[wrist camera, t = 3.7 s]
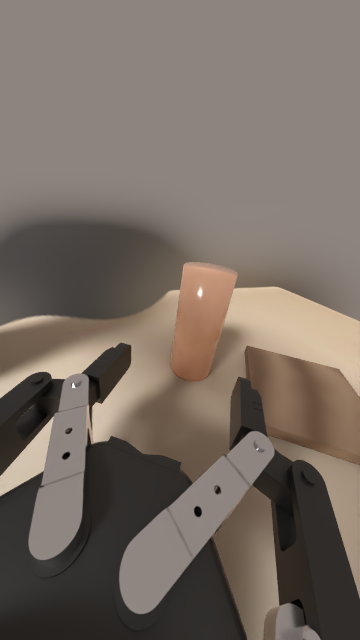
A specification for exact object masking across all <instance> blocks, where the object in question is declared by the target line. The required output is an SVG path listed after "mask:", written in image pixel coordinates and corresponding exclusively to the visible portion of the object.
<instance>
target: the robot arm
mask: <svg viewBox="0 0 360 640" xmlns="http://www.w3.org/2000/svg"><path fill="white" fill-rule="evenodd" d="M130 364H131V345H128V344H124V343H120V344H118V345H117V346H116V347H115V348H113V347H112V348H110V349H108V350H106V351H105V352H104V353H103V354H101V356H99V357H98V358H97V360H95V361H94V362H93V363H92V364H91V365H90V366H89V367H88V368H87V369H86V370H85V371H83V372H82V373H81V374H74V375H72V376H70V377H68V378H67V379H52V377H51V375H50V374H49V373H47V372H38V373H35V374H32V375H30V376H29V377H27V378H26V379H25V380H23V381H22V382H21V383H20V384H18V385H17V386H16V387H14V388H13V389H12V390H11V391H9V392H8V393H7V394H5V395H4V396H3V397H2V398H0V476H1V475H2V474H3V472H4V471H5V470H6V469H7V468H8V467H9V466H10V465H11V463H12V462H13V461H14V460H15V459H16V458H17V457H18V456H19V454H20V453H21V452H22V451H23V450H24V449H25V448H26V446H27V445H28V444H29V443H30V442H31V441H32V440H33V439H34V437H35V436H36V435H37V434H38V433H39V432H40V431H41V430H42V428H43V427H44V426H45V425H46V424H47V423H48V422H49V421H50V419H51V418H52V417H53V416H54V419H53V425H52V430H51V436H50V441H49V446H48V452H47V457H46V463H45V468H44V471H43V472H41V473H40V474H38V475H36V476H35V477H33V478H31V479H29V480H28V481H26V482H24V483H22V484H21V485H19V486H17V487H15V488H14V489H12V490H10V491H9V492H7V493H5V494H3V495H2V496H0V640H247V637H246V633H245V630H244V627H243V624H242V621H241V618H240V615H239V612H238V609H237V606H236V604H235V601H234V598H233V595H232V592H231V589H230V586H229V583H228V580H227V577H226V575H225V572H224V569H223V566H222V563H221V560H220V557H219V554H218V551H217V548H216V546H215V543H214V540H213V537H214V536H215V534H216V533H217V532H218V530H219V529H220V528H221V526H222V525H223V524H224V522H225V521H226V520H227V518H228V517H229V516H230V514H231V513H232V512H233V510H234V509H235V508H236V506H237V505H238V504H239V503H240V501H241V500H242V499H243V497H244V496H245V495H246V493H247V492H248V491H249V490H250V488H251V487H252V486H254V487H256V488H257V489H258V490H259V491H261V492H262V493H263V494H264V495H266V496H267V497H268V498H270V499H271V507H272V519H273V531H274V543H275V556H276V568H277V580H278V593H279V605H280V606H278V607H275V608H273V609H271V610H270V611H269V612H268V614H267V615H266V618H265V623H264V637H263V640H360V598H359V595H358V591H357V588H356V585H355V581H354V578H353V575H352V571H351V568H350V565H349V561H348V558H347V555H346V551H345V548H344V545H343V541H342V538H341V535H340V531H339V528H338V525H337V521H336V518H335V515H334V511H333V508H332V505H331V501H330V498H329V495H328V491H327V488H326V485H325V482H324V480H323V478H322V476H321V475H320V473H319V472H318V471H317V470H316V469H315V468H314V467H313V466H312V465H311V464H309V463H307V462H305V461H303V460H296V461H295V462H292V461H291V460H289V459H288V458H286V457H284V456H283V455H281V454H280V453H279V452H278V451H276V450H275V449H274V447H273V444H272V443H271V441H270V440H269V439H268V437H267V432H266V425H265V418H264V412H263V406H262V399H261V396H260V394H259V393H258V391H257V390H255V389H252V388H251V380H249V379H245V378H242V377H238V379H237V382H236V385H235V387H234V390H233V392H232V396H231V414H230V450H231V451H230V452H229V453H228V454H227V455H223V456H221V457H220V458H219V459H218V460H217V461H216V462H215V463H214V464H213V465H212V466H211V467H210V468H209V469H208V470H207V471H206V472H205V473H204V474H203V475H202V476H201V477H199V478H198V479H197V480H196V481H195V482H194V483H192V481H191V480H190V479H189V477H188V476H187V475H186V474H185V473H184V472H183V471H182V470H181V469H180V465H181V462H178V461H176V460H173V459H170V458H168V457H165V456H161V455H147V454H142V453H141V452H139V451H138V450H137V449H136V448H134V447H133V446H132V445H131V444H129V443H128V442H126V441H124V440H121V439H118V438H116V437H113V436H111V437H110V439H109V441H104V442H97V443H94V444H93V405H94V404H95V403H96V402H98V403H101V404H102V403H103V401H104V400H105V399H106V398H107V396H108V395H109V394H110V392H111V391H112V390H113V388H114V387H115V386H116V384H117V383H118V382H119V380H120V379H121V378H122V376H123V375H124V374H125V373H126V371H127V370H128V368H129V367H130ZM30 407H31V408H30Z"/></svg>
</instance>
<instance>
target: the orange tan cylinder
mask: <svg viewBox="0 0 360 640" xmlns="http://www.w3.org/2000/svg"><path fill="white" fill-rule="evenodd" d="M237 275H238V273H237V272H236V271H234V270H232V269H229V268H227V267H223V266H220V265H215V264H210V263H202V262H188V263H185V264H184V267H183V274H182V281H181V288H180V295H179V303H178V310H177V317H176V324H175V331H174V338H173V345H172V353H171V360H170V367H171V369H172V371H173V372H174V373H175V374H176V375H177V376H179V377H180V378H182V379H185V380H189V381H199V380H203V379H205V378H206V377H207V376H208V375H209V373H210V371H211V367H212V363H213V360H214V356H215V353H216V349H217V346H218V342H219V339H220V335H221V332H222V328H223V325H224V321H225V318H226V314H227V311H228V307H229V304H230V300H231V297H232V293H233V289H234V285H235V282H236V279H237Z"/></svg>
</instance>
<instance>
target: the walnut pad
mask: <svg viewBox="0 0 360 640" xmlns="http://www.w3.org/2000/svg"><path fill="white" fill-rule="evenodd" d="M245 363H246V376H247V379H249V380H251V388H252V389H255V390H257V391H258V393H259V394H260V396H261V399H262V406H263V412H264V418H265V425H266V432H267V435H270V436H273V437H276V438H279V439H282V440H285V441H288V442H291V443H295V444H298V445H301V446H304V447H307V448H310V449H313V450H316V451H319V452H322V453H325V454H328V455H331V456H334V457H337V458H340V459H343V460H346V461H349V462H352V463H356V464H359V465H360V397H359V396H358V395H357V393H356V392H355V390H354V389H353V388H352V386H351V385H350V384H349V382H348V381H347V380H346V378H345V377H344V375H343V374H342V373H341V371H340V370H339V369H336V368H332V367H328V366H324V365H320V364H316V363H313V362H309V361H305V360H301V359H297V358H293V357H289V356H285V355H281V354H277V353H273V352H269V351H265V350H262V349H258V348H254V347H250V346H247V347H246V350H245Z"/></svg>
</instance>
